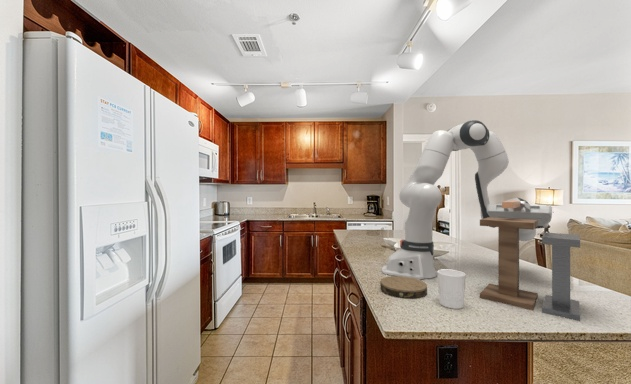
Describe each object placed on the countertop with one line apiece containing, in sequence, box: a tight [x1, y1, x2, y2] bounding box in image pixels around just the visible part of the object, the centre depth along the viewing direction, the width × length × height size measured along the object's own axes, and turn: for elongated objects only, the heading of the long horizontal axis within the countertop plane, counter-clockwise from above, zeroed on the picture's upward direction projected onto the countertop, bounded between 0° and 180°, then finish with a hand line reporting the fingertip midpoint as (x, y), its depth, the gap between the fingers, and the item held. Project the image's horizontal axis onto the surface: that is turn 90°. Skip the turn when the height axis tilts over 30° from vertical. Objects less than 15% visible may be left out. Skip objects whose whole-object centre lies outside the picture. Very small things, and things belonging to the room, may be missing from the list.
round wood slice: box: [379, 275, 428, 300], centre depth 98 cm, size 16×16×3 cm
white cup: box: [436, 268, 467, 310], centre depth 85 cm, size 8×8×10 cm
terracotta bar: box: [501, 200, 520, 208], centre depth 97 cm, size 22×3×2 cm, turn 137°
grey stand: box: [541, 231, 581, 322], centre depth 82 cm, size 14×8×22 cm, turn 137°
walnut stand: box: [479, 217, 539, 311], centre depth 91 cm, size 14×14×26 cm
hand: (515, 202), depth 101 cm, fingers closed on terracotta bar, 3 cm apart
